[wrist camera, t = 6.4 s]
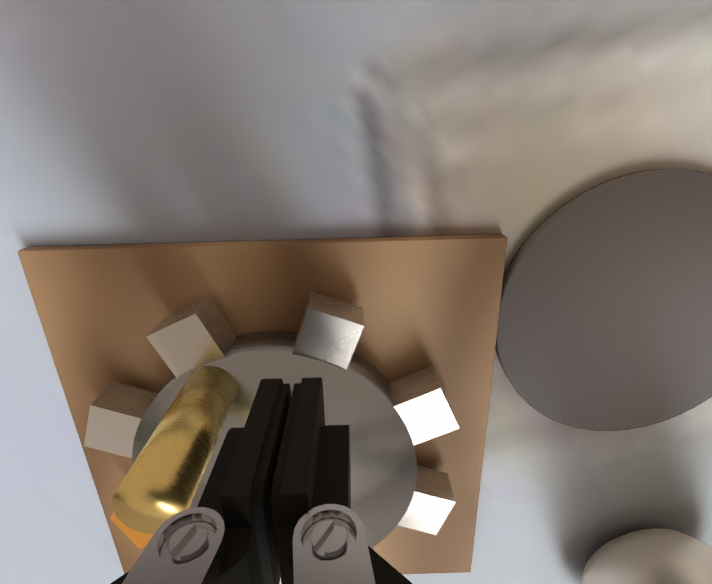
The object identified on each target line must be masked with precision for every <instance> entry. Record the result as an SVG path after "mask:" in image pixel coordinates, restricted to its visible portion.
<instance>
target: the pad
mask: <svg viewBox="0 0 712 584" xmlns="http://www.w3.org/2000/svg"><path fill="white" fill-rule="evenodd" d="M495 348H496V351H497V355H498V359H499V361H500V364H501V366H502V368H503V370H504V372H505V374H506V376H507V377H508V379H509V381H510V382H511V384H512V385H513V387H514V388H515V390H516V391H517V392H518V394H519V395H520V396H521V397H522V398H523V399H524V400H525V401H526V402H527V403H528V404H529V405H531V406H532V407H533V408H534V409H536V410H537V411H538V412H540V413H542V414H543V415H545V416H547V417H549V418H550V419H552V420H555V421H557V422H560V423H562V424H565V425H569V426H573V427H576V428H581V429H588V430H596V431H616V430H628V429H634V428H639V427H645V426H648V425H652V424H655V423H659V422H662V421H665V420H667V419H670V418H672V417H675V416H678V415H680V414H682V413H684V412H686V411H688V410H690V409H692V408H694V407H696V406H697V405H699V404H701V403H702V402H704V401H706V400H707V399H709V398H711V397H712V174H707V173H702V172H696V171H689V170H677V169H659V170H648V171H641V172H636V173H632V174H627V175H623V176H620V177H617V178H614V179H612V180H609V181H606V182H603V183H601V184H599V185H597V186H595V187H593V188H591V189H589V190H587V191H584V192H583V193H581V194H579V195H578V196H576V197H575V198H573V199H572V200H570V201H568V202H567V203H565V204H564V205H563V206H561V207H560V208H559V209H558V210H556V211H555V212H554V213H553V214H551V215H550V216H549V217H548V218H547V219H546V220H545V221H544V222H543V223H542V224H541V225H540V226H539V227H538V228H537V229H536V230H535V231H534V232H533V233H532V234H531V235H530V236H529V238H528V239H527V240H526V241H525V243H524V244H523V245H522V246H521V248H520V249H519V251H518V253H517V254H516V256H515V257H514V259H513V261H512V262H511V264H510V266H509V268H508V270H507V272H506V274H505V276H504V278H503V283H502V292H501V301H500V310H499V319H498V328H497V337H496V346H495Z"/></svg>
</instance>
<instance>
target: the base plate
mask: <svg viewBox="0 0 712 584" xmlns="http://www.w3.org/2000/svg"><path fill="white" fill-rule="evenodd" d="M506 246H507V237H506V236H504V235H503V234H490V235H453V236H416V237H379V238H342V239H305V240H268V241H231V242H194V243H157V244H120V245H83V246H46V247H27V248H24V249H22V250H19V251H17V252H18V255H19V258H20V261H21V264H22V267H23V270H24V273H25V276H26V279H27V282H28V285H29V288H30V291H31V294H32V297H33V300H34V303H35V306H36V309H37V312H38V315H39V318H40V321H41V324H42V327H43V330H44V333H45V336H46V339H47V342H48V345H49V348H50V351H51V354H52V357H53V360H54V363H55V366H56V369H57V372H58V375H59V378H60V381H61V384H62V387H63V390H64V393H65V396H66V399H67V402H68V405H69V408H70V411H71V414H72V417H73V420H74V423H75V426H76V429H77V432H78V435H79V438H80V441H81V444H82V447H83V450H84V453H85V456H86V459H87V462H88V465H89V468H90V471H91V474H92V477H93V480H94V483H95V486H96V489H97V492H98V495H99V498H100V501H101V504H102V507H103V510H104V513H105V516H106V519H107V522H108V525H109V528H110V531H111V534H112V537H113V540H114V543H115V546H116V549H117V552H118V555H119V558H120V561H121V564H122V567H123V570H124V573H125V574H126V573H127V572H129V571H130V570H131V569H132V567H133V565H134V564H135V562H136V561H137V559H138V558H139V556H140V555H141V553H142V552H143V550H144V548H145V547H146V546H145V547H142V548H138V547H137V546H136V545H135V544H134V543H133V542H132V541H131V540H130V539H129V538H128V537H127V536H126V535H125V534H124V533H123V532H122V531H121V529H120V528H119V527H118V526H117V525H116V524H115V523H114V522H113V521H112V520H111V519H110V517H111V515H112V514H113V512H114V511H113V508H112V498H113V495H114V493H115V492H116V490H117V489H118V487H119V485H120V484H121V482H122V481H123V479H124V478H125V476H126V474H127V473H128V471H129V470H130V468H131V467H132V465H133V463H132V458H129V457H125V456H121V455H117V454H113V453H109V452H105V451H101V450H97V449H93V448H89V447H85V446H84V441H85V435H86V429H87V422H88V416H89V409H90V405H91V404H92V403H93V401H94V400H95V399H96V398H97V397H98V396H99V395H100V394H101V393H102V392H103V391H104V389H105V388H106V387H107V386H108V385H109V384H110V383H111V382H112V381H114V382H118V383H122V384H125V385H129V386H133V387H136V388H140V389H143V390H147V391H151V392H154V393H159V392H160V391H161V389H162V388H163V386H164V385H165V384H166V382H167V381H168V380H169V378H170V377H171V376H172V374H173V373H172V371H171V370H170V368H169V367H168V366H167V364H166V363H165V362H164V360H163V359H162V358H161V356H160V355H159V354H158V352H157V351H156V350H155V348H154V347H153V346H152V344H151V343H150V342H149V340H148V339H147V337H146V336H147V335H148V334H149V333H150V332H151V331H152V330H153V329H154V328H155V327H156V326H157V325H158V324H159V322H160V321H161V320H162V319H163V318H164V317H166V316H168V315H170V314H173V313H175V312H177V311H179V310H181V309H183V308H185V307H188V306H190V305H192V304H194V303H196V302H198V301H200V300H203V299H205V298H207V297H209V296H210V297H211V298H212V300H213V301H214V303H215V305H216V306H217V308H218V309H219V311H220V312H221V314H222V315H223V317H224V318H225V320H226V321H227V323H228V324H229V326H230V328H231V329H232V331H233V332H234V334H235V335H236V336H238V335H242V334H246V333H253V332H262V331H288V332H296V333H298V330H299V327H300V324H301V321H302V318H303V315H304V313H305V310H306V307H307V304H308V301H309V298H310V295H311V292H312V291H314V292H317V293H320V294H323V295H326V296H329V297H332V298H335V299H338V300H341V301H344V302H348V303H351V304H354V305H357V306H360V307H363V315H364V328H363V330H362V333H361V335H360V338H359V340H358V343H357V345H356V348H355V350H354V352H356V353H357V354H359V355H360V356H361V357H363V358H364V359H366V360H367V361H369V362H370V363H371V364H372V365H374V366H375V367H376V368H377V369H378V370H379V371H380V372H381V373H382V374H383V375H384V376H385V377H386V378H387V379H388V381H389V382H393V381H395V380H398V379H400V378H403V377H405V376H408V375H410V374H413V373H415V372H418V371H420V370H423V369H425V368H428V367H430V366H433V367H434V369H435V371H436V374H437V376H438V378H439V380H440V382H441V384H442V386H443V389H444V391H445V393H446V395H447V397H448V399H449V401H450V404H451V406H452V409H453V412H454V415H455V418H456V420H457V423H458V426H459V429H456V430H454V431H451V432H448V433H446V434H443V435H440V436H438V437H435V438H432V439H430V440H427V441H424V442H422V443H419V444H416V445H414V448H415V453H416V461H417V465H420V466H423V467H427V468H430V469H434V470H438V471H441V472H445V473H448V477H449V481H450V484H451V488H452V491H453V495H454V499H455V504H454V506H453V507H452V509H451V511H450V512H449V514H448V516H447V517H446V519H445V521H444V522H443V524H442V526H441V527H440V529H439V531H438V532H437V534H436V535H434V534H430V533H426V532H422V531H418V530H414V529H410V528H406V527H402V526H398V525H397V526H396V527H395V528H394V529H393V530H392V532H391V533H390V534H389V535H388V536H387V537H385V538H384V539H383V540H382V541H381V542H380V543H379V544H377V545H376V546H374V551H375V552H376V553H378V554H379V555H380V556H381V557H382V558H383V559H385V560H386V561H387V562H388V563H389V564H390V565H391V566H393V567H394V568H395V569H396V570H397V571H398V572H400V573H401V574H423V573H456V572H470V571H471V562H472V553H473V544H474V535H475V526H476V517H477V508H478V499H479V490H480V481H481V472H482V463H483V454H484V445H485V436H486V427H487V418H488V409H489V400H490V391H491V382H492V373H493V364H494V355H495V346H496V337H497V328H498V319H499V310H500V301H501V292H502V283H503V273H504V264H505V255H506ZM280 578H281V575H280Z"/></svg>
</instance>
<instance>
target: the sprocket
mask: <svg viewBox="0 0 712 584" xmlns="http://www.w3.org/2000/svg"><path fill="white" fill-rule="evenodd" d="M363 328H364V315H363V307H360V306H357V305H354V304H351V303H348V302H344V301H341V300H338V299H335V298H332V297H329V296H326V295H323V294H320V293H317V292H314V291H312V292H311V295H310V298H309V301H308V304H307V307H306V310H305V313H304V315H303V318H302V321H301V324H300V327H299V330H298V333H296V332H288V331H262V332H253V333H246V334H242V335H238V336H236V335H235V334H234V332H233V331H232V329H231V328H230V326H229V324H228V323H227V321H226V320H225V318H224V317H223V315H222V314H221V312H220V311H219V309H218V308H217V306H216V305H215V303H214V301H213V300H212V298H211V297H210V296H209V297H207V298H205V299H203V300H200V301H198V302H196V303H194V304H192V305H190V306H188V307H185V308H183V309H181V310H179V311H177V312H175V313H173V314H170V315H168V316H166V317H164V318H163V319H162V320H161V321H160V322H159V324H158V325H157V326H156V327H155V328H154V329H153V330H152V331H151V332H150V333H149V334H148V335H147V336H146V337H147V339H148V340H149V342H150V343H151V344H152V346H153V347H154V348H155V350H156V351H157V352H158V354H159V355H160V356H161V358H162V359H163V360H164V362H165V363H166V364H167V366H168V367H169V368H170V370H171V371H172V373H173V374H172V376H171V377H170V378H169V380H168V381H167V382H166V384H165V385H164V386H163V388H162V389H161V391H160V392H159V393H154V392H151V391H147V390H143V389H140V388H136V387H133V386H129V385H125V384H122V383H118V382H114V381H112V382H111V383H110V384H109V385H108V386H107V387H106V388H105V389H104V391H103V392H102V393H101V394H100V395H99V396H98V397H97V398H96V399H95V400H94V401H93V403H92V404H91V405H90V409H89V416H88V422H87V429H86V435H85V441H84V446H85V447H89V448H93V449H97V450H101V451H105V452H109V453H113V454H117V455H121V456H125V457H129V458H132V463H133V465H132V467H131V468H130V470H129V471H128V473H127V474H126V476H125V478H124V479H123V481H122V482H121V484H120V485H119V487H118V489H117V490H116V492H115V493H114V495H113V498H112V508H113V511H114V512H113V514H112V515H111V517H110V519H111V520H112V521H113V522H114V523H115V524H116V525H117V526H118V527H119V528H120V529H121V531H122V532H123V533H124V534H125V535H126V536H127V537H128V538H129V539H130V540H131V541H132V542H133V543H134V544H135V545H136V546H137V547H138V548H142V547H145V546H146V545H147V544H148V542H149V541H150V539H151V538H152V536H153V535H154V533H155V532H156V531H157V529H158V528H159V527H160V526H161V525H162V524H163V523H164V522H165V521H166V520H168V519H169V518H170V517H171V516H173V515H175V514H177V513H179V512H181V511H183V510H186V509H190V508H194V507H197V506H198V504H199V501H200V499H201V496H202V494H203V491H204V489H205V486H206V484H207V481H208V479H209V476H210V474H211V471H212V469H213V466H214V464H215V461H216V459H217V456H218V454H219V451H220V449H221V447H222V444H223V442H224V439H225V437H226V434H227V432H228V430H229V429H230V428H242V427H244V426H245V423H246V421H247V418H248V415H249V412H250V409H251V406H252V404H253V401H254V398H255V395H256V392H257V390H258V387H259V384H260V381H261V379H276V378H282V380H283V384H285V383H289V384H290V390H291V397H292V392H293V388H294V384H295V383H301V381H302V378H315V377H322V381H323V396H324V412H325V425H349V428H350V459H351V510H353V511H354V512H355V513H356V514H357V515H358V516H359V517H360V519H361V521H362V523H363V526H364V529H365V534H366V539H367V544H368V546H370V547H371V548H372V549H373V550H374V546H376V545H377V544H379V543H380V542H381V541H382V540H383V539H384V538H385V537H387V536H388V535H389V534H390V533H391V532H392V530H393V529H394V528H395V527H396V526H397V525H398V526H402V527H406V528H410V529H414V530H418V531H422V532H426V533H430V534H434V535H436V534H437V532H438V531H439V529H440V527H441V526H442V524H443V522H444V521H445V519H446V517H447V516H448V514H449V512H450V511H451V509H452V507H453V506H454V504H455V499H454V495H453V491H452V488H451V484H450V481H449V477H448V473H445V472H441V471H438V470H434V469H430V468H427V467H423V466H420V465H417V461H416V453H415V448H414V445H416V444H419V443H422V442H424V441H427V440H430V439H432V438H435V437H438V436H440V435H443V434H446V433H448V432H451V431H454V430H456V429H459V426H458V423H457V420H456V418H455V415H454V412H453V409H452V406H451V404H450V401H449V399H448V397H447V395H446V393H445V391H444V389H443V386H442V384H441V382H440V380H439V378H438V376H437V374H436V371H435V369H434V367H433V366H430V367H428V368H425V369H423V370H420V371H418V372H415V373H413V374H410V375H408V376H405V377H403V378H400V379H398V380H395V381H393V382H389V381H388V379H387V378H386V377H385V376H384V375H383V374H382V373H381V372H380V371H379V370H378V369H377V368H376V367H375V366H374V365H372V364H371V363H370V362H369V361H367V360H366V359H364V358H363V357H361V356H360V355H359V354H357V353H356V352H354V350H355V348H356V345H357V343H358V340H359V338H360V335H361V333H362V330H363Z"/></svg>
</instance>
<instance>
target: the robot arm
mask: <svg viewBox="0 0 712 584" xmlns="http://www.w3.org/2000/svg"><path fill="white" fill-rule="evenodd" d="M280 575H281V582H282V584H412V583H411V582H410V581H409V580H408V579H406V578H405V577H404V576H403V575H402V574H401V573H400V572H398V571H397V570H396V569H395V568H394V567H393V566H391V565H390V564H389V563H388V562H387V561H386V560H385V559H383V558H382V557H381V556H380V555H379V554H378V553H376V552H375V551H374V550H373V549H372V548H371V547H370V546H368V544H367V539H366V534H365V529H364V526H363V523H362V521H361V519H360V517H359V516H358V515H357V514H356V513H355V512H354V511H353V510H351V459H350V428H349V425H325V412H324V396H323V381H322V377H315V378H302V381H301V383H295V384H294V388H293V392H292V397H291V390H290V384H289V383H285V384H283V380H282V378H276V379H261V381H260V384H259V387H258V390H257V392H256V395H255V398H254V401H253V404H252V406H251V409H250V412H249V415H248V418H247V421H246V423H245V426H244V427H242V428H230V429H229V430H228V432H227V434H226V437H225V439H224V442H223V444H222V447H221V449H220V451H219V454H218V456H217V459H216V461H215V464H214V466H213V469H212V471H211V474H210V476H209V479H208V481H207V484H206V486H205V489H204V491H203V494H202V496H201V499H200V501H199V504H198V506H197V507H194V508H190V509H186V510H183V511H181V512H179V513H177V514H175V515H173V516H171V517H170V518H169V519H168V520H166V521H165V522H164V523H163V524H162V525H161V526H160V527H159V528H158V529H157V531H156V532H155V533H154V535H153V536H152V538H151V539H150V541H149V542H148V544H147V545H146V547H145V548H144V550H143V552H142V553H141V555H140V556H139V558H138V559H137V561H136V562H135V564H134V565H133V567H132V569H131V570H130V571H129V572H127V573H126V574H124V575H123V576H121V577H120V578H118V579H117V580H115V581H114V582H112V583H111V584H279V581H280Z"/></svg>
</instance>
